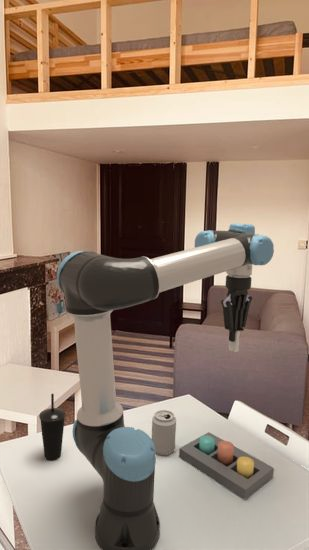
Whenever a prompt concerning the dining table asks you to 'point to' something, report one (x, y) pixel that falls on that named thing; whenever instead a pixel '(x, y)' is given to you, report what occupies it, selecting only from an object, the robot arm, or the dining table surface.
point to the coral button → (225, 453)
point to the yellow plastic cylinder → (245, 467)
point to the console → (227, 468)
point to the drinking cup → (52, 431)
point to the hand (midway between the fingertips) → (233, 350)
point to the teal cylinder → (207, 444)
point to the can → (164, 432)
